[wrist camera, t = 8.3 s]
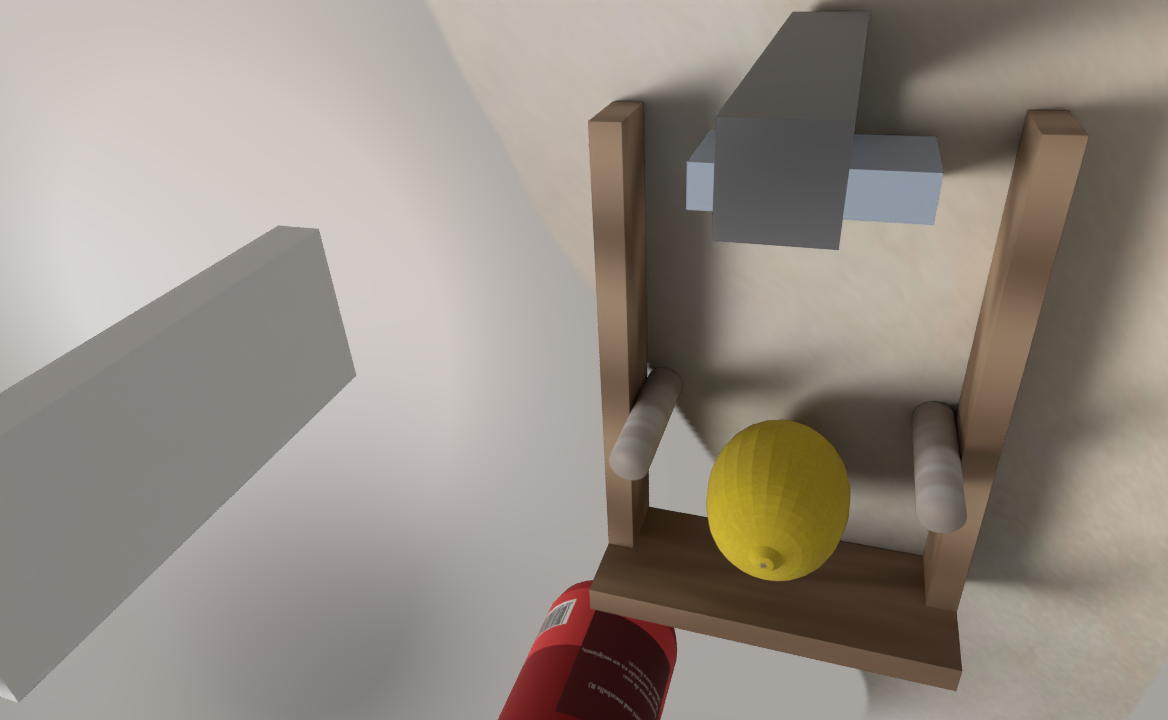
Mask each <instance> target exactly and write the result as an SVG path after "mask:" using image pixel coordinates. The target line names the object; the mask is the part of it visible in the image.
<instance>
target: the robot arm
mask: <svg viewBox="0 0 1168 720" xmlns="http://www.w3.org/2000/svg"><path fill="white" fill-rule="evenodd" d="M355 376H356V373H355V369H354V365H353V361H352V357H351V353H350V349H349V345H348V341H347V337H346V334H345V330H344V326H343V322H342V318H341V314H340V311H339V307H338V302H337V298H336V294H335V291H334V287H333V283H332V279H331V275H330V271H329V267H328V263H327V260H326V256H325V252H324V248H323V244H322V240H321V236H320V232H319V229H313V228H300V227H289V226H277V227H275V228H274V229H272V230H270V231H269V232H267V233H266V234H264V235H262V236H260V237H259V238H257V239H256V240H254V241H252V242H251V243H249V244H247V245H246V246H244V247H242V248H241V249H239V250H237V251H236V252H234V253H232V254H231V255H229V256H227V257H226V258H224V259H222V260H221V261H219V262H217V263H216V264H214V265H212V266H211V267H209V268H207V269H206V270H204V271H202V272H201V273H199V274H198V275H196V276H194V277H192V278H191V279H189V280H187V281H186V282H184V283H182V284H181V285H179V286H177V287H176V288H174V289H172V290H171V291H169V292H168V293H166V294H164V295H163V296H161V297H159V298H157V299H156V300H155V301H153V302H151V303H149V304H148V305H146V306H144V307H143V308H141V309H139V310H138V311H136V312H134V313H133V314H131V315H129V316H128V317H126V318H124V319H123V320H121V321H119V322H118V323H116V324H114V325H113V326H111V327H109V328H108V329H106V330H104V331H103V332H101V333H99V334H98V335H96V336H94V337H93V338H91V339H89V340H88V341H86V342H84V343H83V344H81V345H80V346H78V347H76V348H75V349H73V350H71V351H70V352H68V353H66V354H65V355H63V356H61V357H60V358H58V359H56V360H55V361H53V362H51V363H50V364H48V365H47V366H45V367H43V368H42V369H40V370H38V371H36V372H35V373H33V374H31V375H30V376H28V377H26V378H25V379H23V380H21V381H20V382H18V383H16V384H15V385H13V386H12V387H10V388H8V389H7V390H5V391H3V392H2V393H0V696H1V697H4V698H7V699H9V700H12V701H15V702H18V703H19V702H20V701H21V700H22V699H23V698H24V697H25V696H26V695H27V694H28V693H29V692H30V691H31V690H32V689H33V688H35V687H36V686H37V685H38V684H39V683H40V682H41V681H42V680H43V679H44V678H45V677H46V676H47V675H48V674H49V673H50V672H51V671H52V670H53V669H54V668H55V667H56V666H57V665H58V664H59V663H60V662H61V661H62V660H63V659H64V658H65V657H66V656H67V655H68V654H70V653H71V652H72V651H73V650H74V649H75V648H76V647H77V646H78V645H79V644H80V643H81V642H82V641H83V640H84V639H85V638H86V637H87V636H88V635H89V634H90V633H91V632H92V631H93V630H94V629H95V628H96V627H97V626H98V625H99V624H101V622H103V621H104V620H105V619H106V618H107V617H108V616H109V615H110V614H111V613H112V612H113V611H114V610H115V609H116V608H117V607H118V606H119V605H120V604H121V603H122V602H123V601H124V600H125V599H126V598H127V597H128V596H129V595H130V594H131V593H133V592H134V591H135V590H136V589H137V588H138V587H139V586H140V585H141V584H142V583H143V582H144V581H145V580H146V579H147V578H148V577H149V576H150V575H151V574H152V573H153V572H154V571H155V570H156V569H157V568H158V567H159V566H160V565H161V564H162V563H163V562H164V561H165V560H166V559H168V558H169V556H171V555H172V554H173V553H174V552H175V551H176V550H177V549H178V548H179V547H180V546H181V545H182V544H183V543H184V542H185V541H186V540H187V539H188V538H189V537H190V536H191V535H192V534H193V533H194V532H195V531H196V530H197V529H199V527H200V526H202V525H203V524H204V523H205V522H206V521H207V520H208V519H209V518H210V517H211V516H212V515H213V514H214V513H215V512H216V511H217V510H218V509H219V508H220V507H221V506H222V505H223V504H224V503H225V502H226V501H227V500H228V499H229V498H230V497H232V495H234V494H235V493H236V492H237V491H238V490H239V489H240V488H241V487H242V486H243V485H244V484H245V483H246V482H247V481H248V480H249V479H250V478H251V477H252V476H253V475H254V474H255V473H256V472H257V471H258V470H259V469H260V468H261V467H262V466H263V465H264V464H266V462H268V461H269V460H270V459H271V458H272V457H273V456H274V455H275V454H276V453H277V452H278V451H279V450H280V449H281V448H282V447H283V446H284V445H285V444H286V443H287V442H288V441H289V440H290V439H291V438H292V437H293V436H294V435H295V434H296V433H298V432H299V431H300V430H301V429H302V428H303V427H304V426H305V425H306V424H307V423H308V422H309V421H310V420H311V419H312V418H313V417H314V416H315V415H316V414H317V413H318V412H319V411H320V410H321V409H322V408H323V407H324V406H325V405H326V404H327V403H328V402H329V401H331V400H332V399H333V397H335V396H336V395H337V394H338V393H339V392H340V391H341V390H342V389H343V388H344V387H345V386H346V385H347V384H348V383H349V382H350V381H351V380H352V379H353V378H354V377H355Z"/></svg>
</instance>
